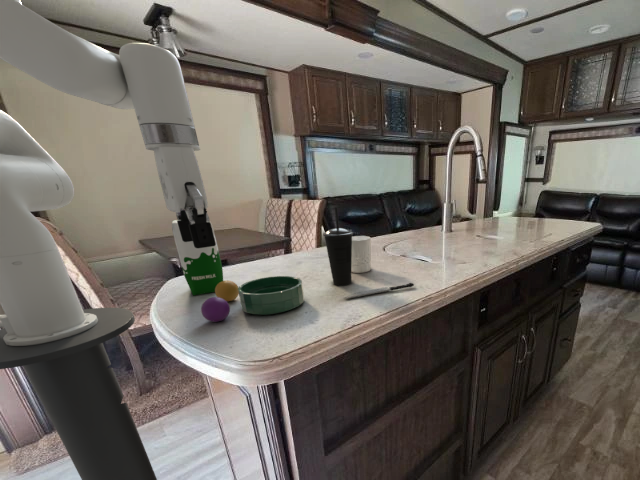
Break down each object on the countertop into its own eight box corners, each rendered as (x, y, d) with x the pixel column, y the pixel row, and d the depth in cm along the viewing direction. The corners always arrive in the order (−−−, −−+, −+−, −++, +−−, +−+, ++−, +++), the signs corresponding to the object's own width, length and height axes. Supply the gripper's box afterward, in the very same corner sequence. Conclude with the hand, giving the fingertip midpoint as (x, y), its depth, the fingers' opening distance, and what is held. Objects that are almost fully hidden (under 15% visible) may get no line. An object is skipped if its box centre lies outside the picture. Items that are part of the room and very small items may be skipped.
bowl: (235, 320, 65) (230, 297, 63) (249, 298, 77) (245, 278, 75) (302, 313, 67) (299, 291, 65) (305, 293, 79) (303, 274, 77)
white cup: (361, 274, 94) (359, 241, 90) (341, 271, 98) (339, 239, 94) (377, 268, 100) (375, 237, 97) (357, 265, 104) (355, 235, 101)
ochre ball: (214, 305, 72) (209, 285, 71) (221, 298, 77) (216, 278, 75) (238, 303, 73) (233, 283, 72) (243, 296, 78) (239, 277, 76)
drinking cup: (355, 277, 91) (350, 205, 84) (357, 285, 84) (352, 208, 77) (328, 280, 90) (320, 206, 83) (328, 288, 83) (320, 209, 76)
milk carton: (188, 297, 78) (165, 214, 71) (189, 288, 85) (168, 211, 78) (228, 290, 82) (210, 211, 75) (225, 282, 89) (208, 209, 82)
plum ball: (200, 327, 62) (194, 303, 60) (209, 317, 66) (203, 294, 64) (228, 324, 63) (222, 300, 61) (234, 314, 67) (229, 292, 65)
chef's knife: (339, 296, 77) (343, 300, 74) (339, 292, 76) (342, 295, 74) (409, 284, 84) (414, 287, 82) (409, 280, 84) (414, 282, 81)
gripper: (137, 144, 55) (166, 241, 62) (150, 131, 44) (185, 253, 50) (186, 146, 60) (209, 236, 66) (210, 135, 48) (235, 246, 54)
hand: (198, 243), depth 58 cm, fingers open, 9 cm apart
